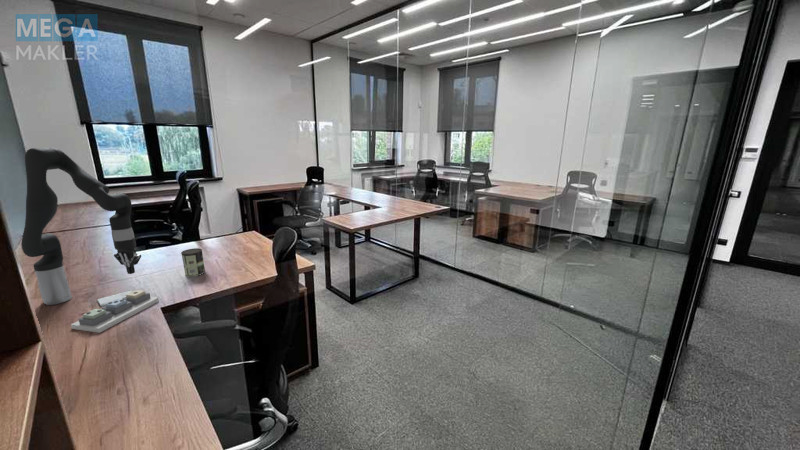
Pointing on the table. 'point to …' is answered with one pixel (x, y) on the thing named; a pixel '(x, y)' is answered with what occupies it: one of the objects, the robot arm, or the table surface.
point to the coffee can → (193, 262)
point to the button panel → (115, 314)
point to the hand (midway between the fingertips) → (131, 273)
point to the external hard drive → (111, 298)
